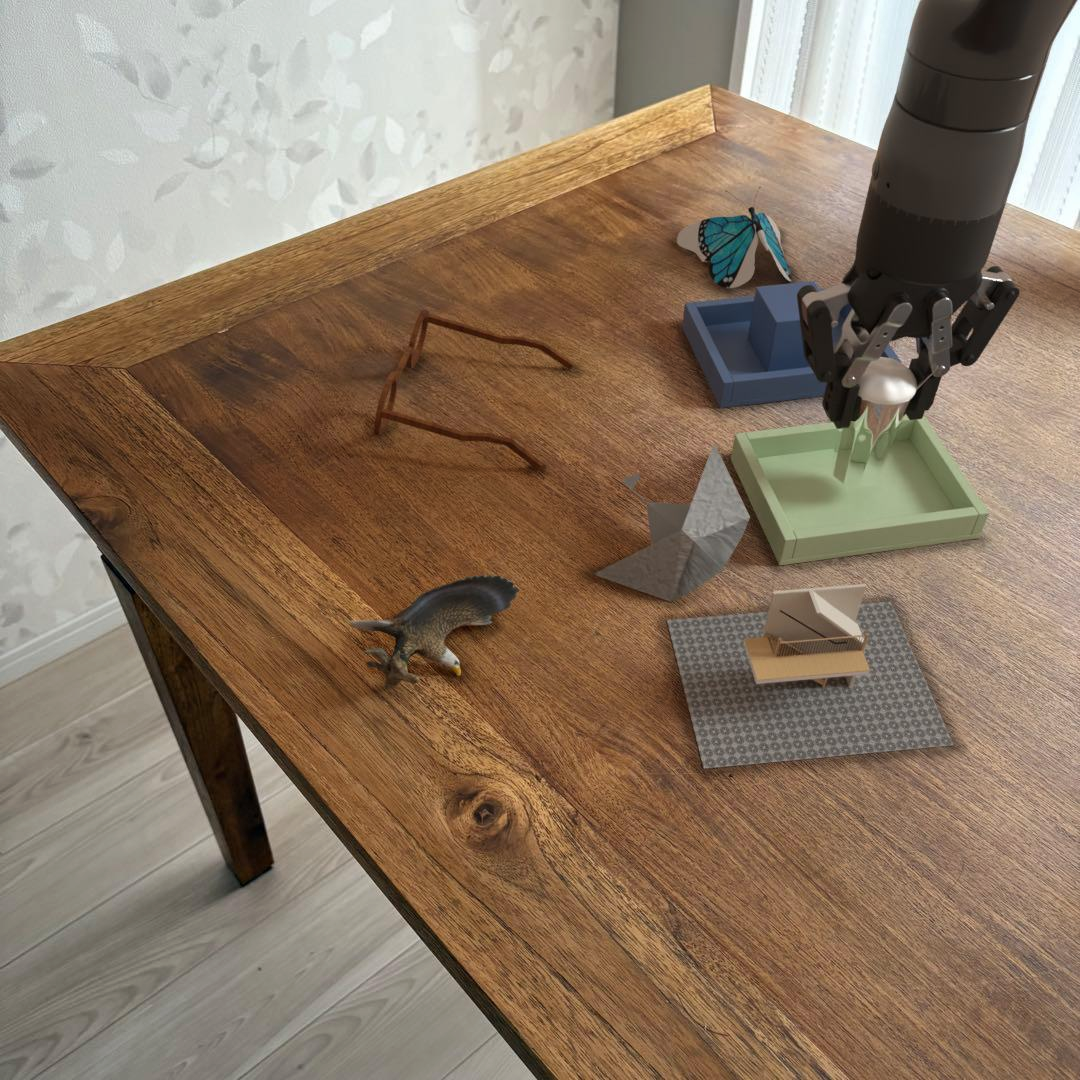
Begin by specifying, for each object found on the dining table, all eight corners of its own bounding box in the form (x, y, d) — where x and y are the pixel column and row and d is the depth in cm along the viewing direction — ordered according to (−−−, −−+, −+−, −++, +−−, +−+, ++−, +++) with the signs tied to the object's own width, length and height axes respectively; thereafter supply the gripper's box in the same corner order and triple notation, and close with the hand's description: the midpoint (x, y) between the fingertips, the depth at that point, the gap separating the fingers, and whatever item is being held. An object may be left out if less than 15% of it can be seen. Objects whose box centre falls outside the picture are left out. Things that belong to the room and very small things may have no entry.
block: (804, 331, 94) (814, 280, 90) (825, 367, 90) (837, 315, 87) (747, 338, 93) (755, 286, 89) (766, 373, 89) (776, 321, 86)
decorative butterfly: (716, 264, 94) (686, 182, 99) (702, 316, 100) (674, 235, 105) (828, 252, 96) (793, 172, 101) (808, 303, 101) (776, 225, 106)
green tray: (913, 436, 85) (921, 410, 83) (979, 538, 77) (990, 512, 75) (730, 459, 83) (734, 433, 81) (779, 565, 75) (785, 540, 74)
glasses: (420, 348, 93) (416, 296, 89) (574, 367, 91) (576, 316, 87) (372, 449, 84) (365, 396, 80) (542, 473, 82) (542, 420, 78)
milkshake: (893, 504, 76) (934, 387, 69) (816, 484, 78) (848, 367, 71) (902, 463, 80) (941, 348, 72) (827, 445, 81) (859, 329, 74)
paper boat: (654, 632, 70) (550, 536, 72) (664, 641, 76) (569, 552, 78) (785, 492, 70) (677, 400, 72) (784, 512, 76) (685, 427, 78)
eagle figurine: (455, 727, 65) (545, 615, 68) (382, 645, 61) (480, 532, 65) (388, 707, 71) (474, 605, 74) (319, 630, 67) (412, 528, 71)
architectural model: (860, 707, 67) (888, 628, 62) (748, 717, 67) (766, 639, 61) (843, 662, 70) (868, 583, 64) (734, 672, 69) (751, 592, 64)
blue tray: (843, 310, 97) (849, 285, 95) (895, 388, 89) (902, 362, 87) (681, 327, 95) (684, 302, 93) (719, 408, 87) (723, 383, 85)
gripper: (844, 227, 59) (791, 466, 71) (1091, 202, 61) (998, 440, 73) (796, 160, 64) (755, 394, 76) (1025, 140, 66) (949, 371, 78)
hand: (874, 415), depth 75 cm, fingers closed on milkshake, 4 cm apart
